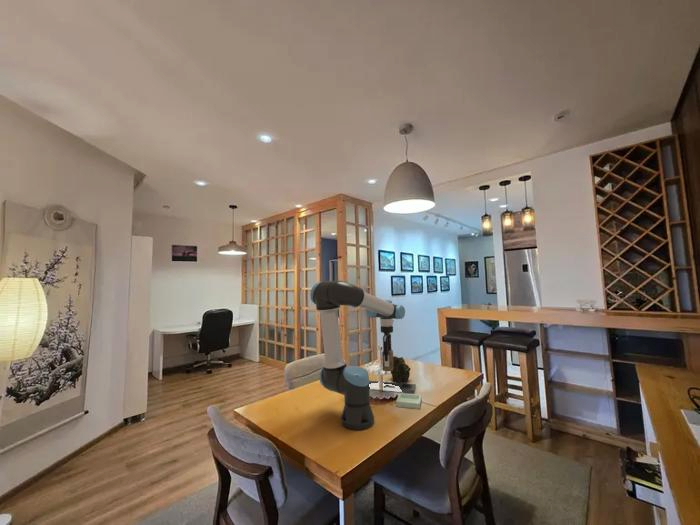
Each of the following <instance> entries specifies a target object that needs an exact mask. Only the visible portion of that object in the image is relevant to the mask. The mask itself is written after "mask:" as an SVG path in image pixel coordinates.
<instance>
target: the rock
mask: <svg viewBox="0 0 700 525" xmlns="http://www.w3.org/2000/svg"><path fill="white" fill-rule="evenodd" d="M393 368H394V369H393V371H392V372H391V371H390V374H391V378H392V382H395V383H409V382H408V381H409V378H410V374H411V373H410V371H411V367H409V365H408V364H407V363H406V361H405V359H404V357H403V356H401V357H398V356H396V355H395V356H394V355H393Z"/></svg>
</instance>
